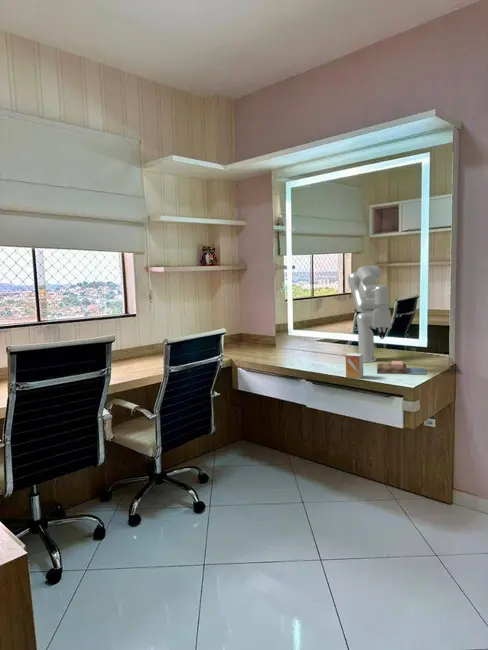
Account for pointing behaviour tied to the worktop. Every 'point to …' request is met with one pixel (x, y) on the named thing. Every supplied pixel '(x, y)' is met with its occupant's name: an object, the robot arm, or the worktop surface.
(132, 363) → the worktop surface
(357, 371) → the small box
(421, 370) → the mat
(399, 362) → the tile
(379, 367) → the platform
